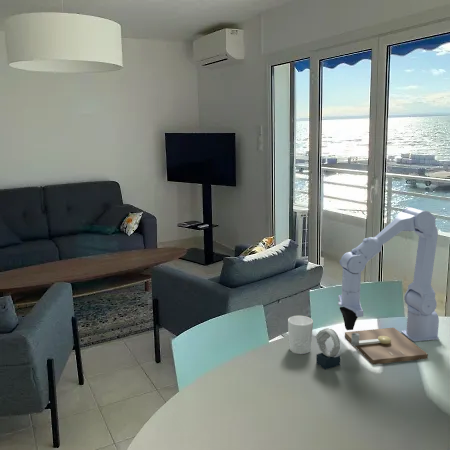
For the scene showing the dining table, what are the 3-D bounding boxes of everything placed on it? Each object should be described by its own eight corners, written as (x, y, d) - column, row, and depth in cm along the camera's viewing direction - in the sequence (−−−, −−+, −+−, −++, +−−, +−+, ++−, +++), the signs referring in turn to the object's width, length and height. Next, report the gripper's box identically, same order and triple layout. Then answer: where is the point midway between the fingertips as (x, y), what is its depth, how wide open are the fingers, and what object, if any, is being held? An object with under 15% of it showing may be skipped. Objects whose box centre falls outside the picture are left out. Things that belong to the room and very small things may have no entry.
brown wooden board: (393, 331, 164) (393, 327, 163) (427, 358, 144) (427, 353, 144) (344, 336, 160) (344, 331, 160) (372, 364, 141) (373, 359, 141)
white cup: (285, 353, 149) (286, 323, 147) (289, 342, 156) (290, 314, 154) (310, 356, 147) (311, 326, 145) (313, 345, 154) (314, 316, 152)
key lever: (386, 338, 154) (387, 328, 154) (393, 343, 150) (393, 333, 150) (348, 341, 152) (349, 332, 151) (354, 347, 148) (354, 337, 147)
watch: (326, 356, 147) (327, 323, 144) (344, 367, 140) (345, 333, 137) (312, 360, 144) (312, 327, 142) (329, 372, 137) (330, 337, 135)
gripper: (330, 283, 158) (329, 321, 160) (349, 298, 144) (347, 339, 146) (350, 281, 159) (348, 319, 161) (370, 296, 145) (368, 337, 147)
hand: (349, 329), depth 154 cm, fingers closed
